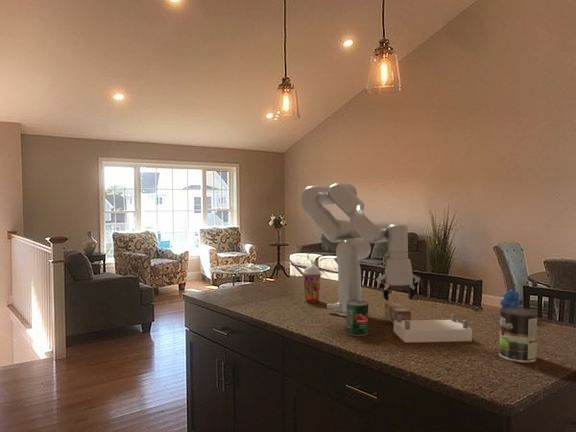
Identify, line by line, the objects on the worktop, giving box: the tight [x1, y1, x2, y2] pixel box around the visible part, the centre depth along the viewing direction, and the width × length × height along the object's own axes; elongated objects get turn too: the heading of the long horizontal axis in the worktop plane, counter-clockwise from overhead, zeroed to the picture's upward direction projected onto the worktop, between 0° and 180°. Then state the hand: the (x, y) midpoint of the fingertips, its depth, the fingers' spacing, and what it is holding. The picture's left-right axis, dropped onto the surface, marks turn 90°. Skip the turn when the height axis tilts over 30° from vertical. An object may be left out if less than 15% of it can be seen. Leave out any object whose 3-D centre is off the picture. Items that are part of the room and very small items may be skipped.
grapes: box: [499, 288, 521, 311], centre depth 186 cm, size 12×7×12 cm, turn 121°
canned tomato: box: [345, 299, 369, 337], centre depth 165 cm, size 8×8×11 cm
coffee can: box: [498, 306, 539, 364], centre depth 139 cm, size 10×10×14 cm
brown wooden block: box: [384, 302, 412, 325], centre depth 181 cm, size 16×5×6 cm, turn 6°
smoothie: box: [302, 258, 322, 303], centre depth 219 cm, size 8×8×20 cm
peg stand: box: [393, 313, 473, 343], centre depth 161 cm, size 23×13×6 cm, turn 94°
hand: (398, 299), depth 180 cm, fingers open, 9 cm apart
